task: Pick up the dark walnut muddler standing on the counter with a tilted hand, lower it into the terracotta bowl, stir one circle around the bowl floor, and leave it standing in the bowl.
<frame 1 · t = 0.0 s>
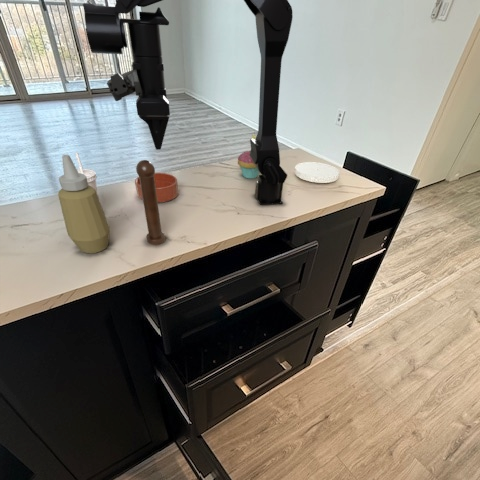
hand: (157, 143, 73), 15 cm above the worktop, tool pointing down, fingers open, 9 cm apart
cupcake: (250, 176, 101), on the worktop
smoothie: (92, 215, 78), on the worktop
bowl: (158, 195, 87), on the worktop
squeeze bottle: (94, 247, 68), on the worktop
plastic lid: (315, 178, 103), on the worktop
muddler: (156, 240, 71), on the worktop
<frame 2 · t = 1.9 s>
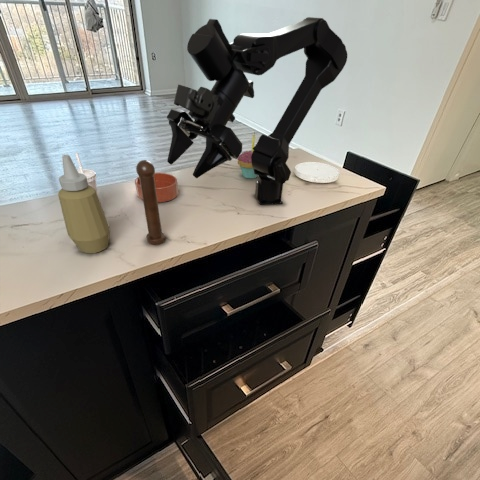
hand: (181, 169, 65), 13 cm above the worktop, tool tilted 45°, fingers open, 9 cm apart
nothing on the worktop moved.
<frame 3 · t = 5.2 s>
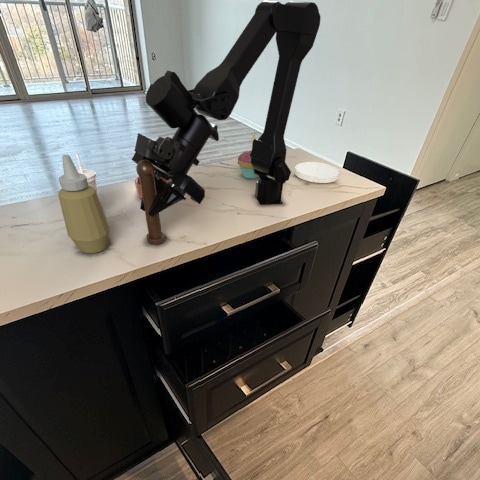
hand: (145, 212, 65), 7 cm above the worktop, tool tilted 45°, fingers closed on muddler, 3 cm apart
muddler: (156, 240, 71), on the worktop, touching gripper
everything else where it was.
when the fingers open (7 cm above the worktop, at t = 13.8 s): muddler stays where it is, resting on bowl.
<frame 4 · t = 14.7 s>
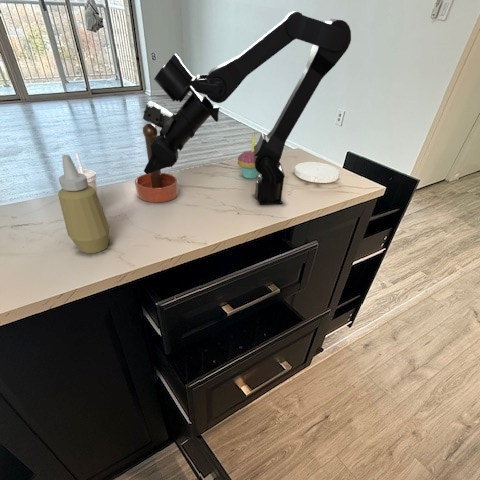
hand: (149, 166, 82), 8 cm above the worktop, tool tilted 45°, fingers open, 9 cm apart
muddler: (158, 193, 87), resting on bowl
everything else where it was.
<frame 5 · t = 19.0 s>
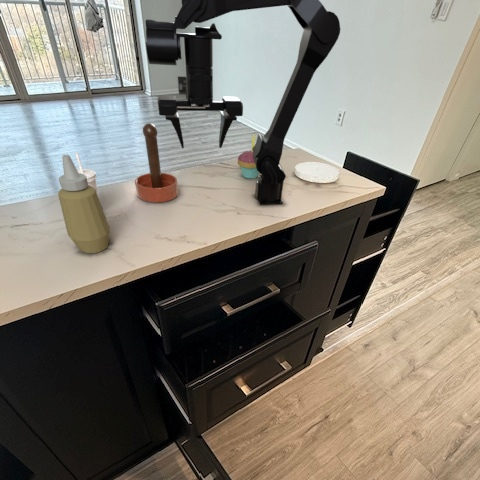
hand: (201, 147, 78), 13 cm above the worktop, tool pointing down, fingers open, 9 cm apart
nothing on the worktop moved.
at the end: muddler 0.0 cm off-centre in the bowl, point 0.5 cm above the bowl's base; muddler tilted 0°; the gripper is holding nothing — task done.
